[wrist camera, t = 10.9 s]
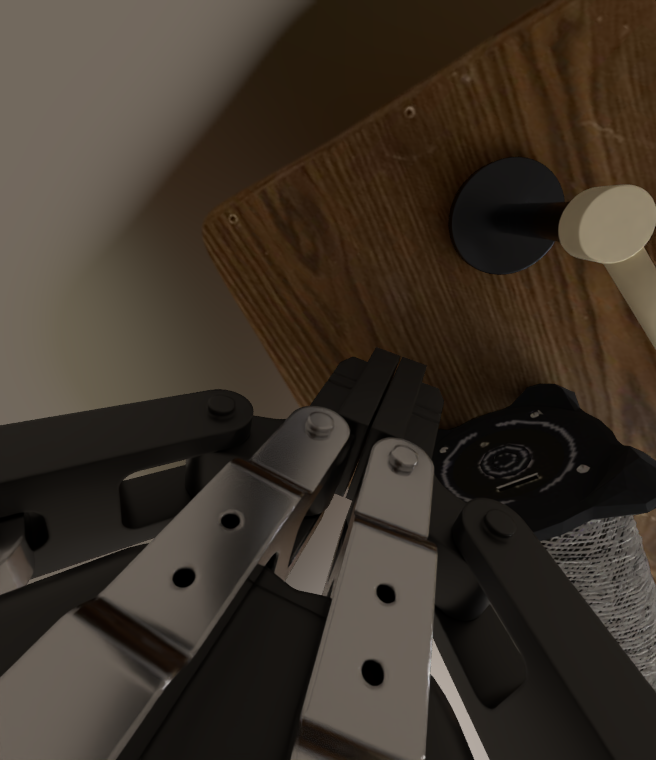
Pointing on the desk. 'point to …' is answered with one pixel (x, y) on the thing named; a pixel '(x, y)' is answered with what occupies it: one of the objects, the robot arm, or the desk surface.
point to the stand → (506, 215)
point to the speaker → (567, 501)
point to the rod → (616, 242)
